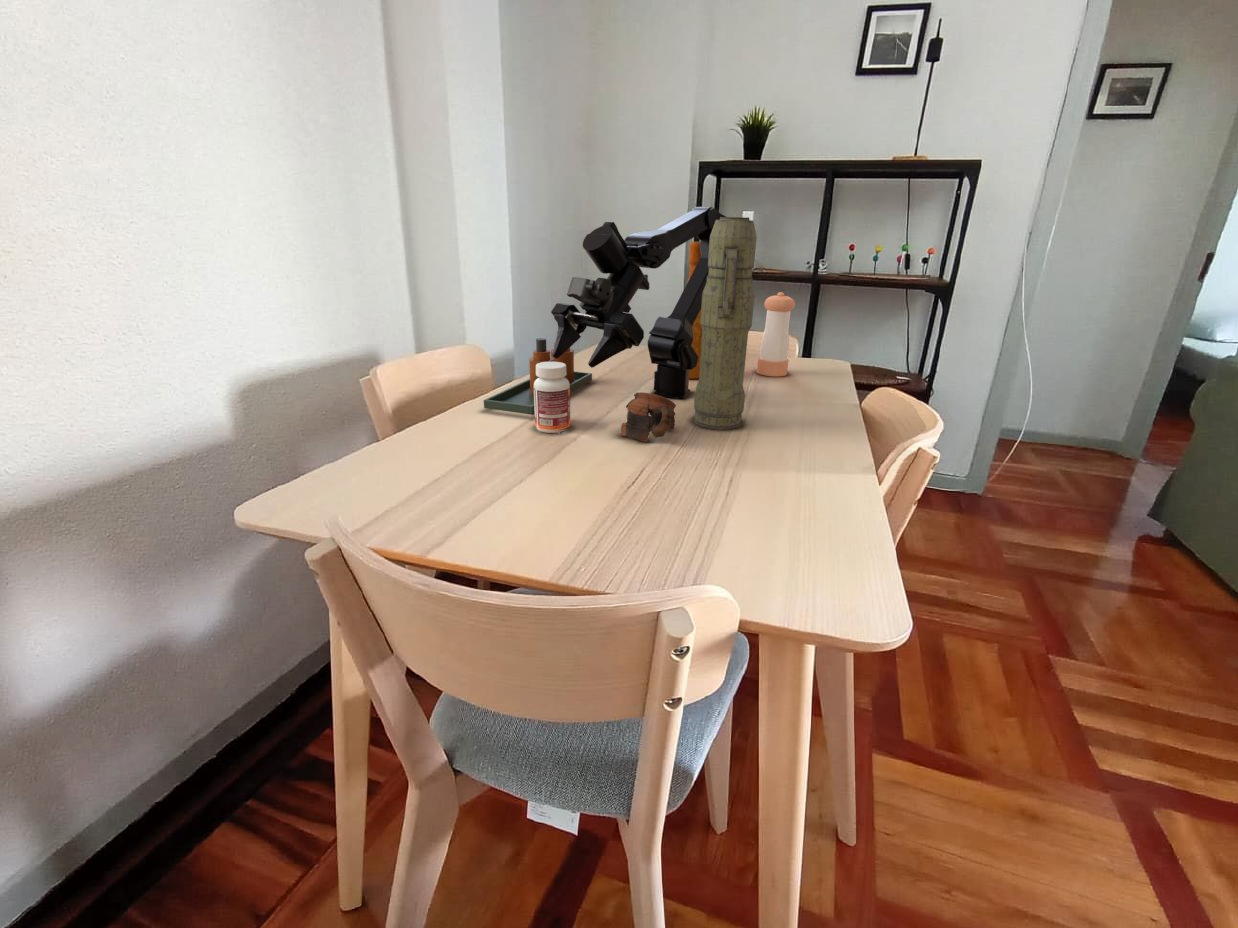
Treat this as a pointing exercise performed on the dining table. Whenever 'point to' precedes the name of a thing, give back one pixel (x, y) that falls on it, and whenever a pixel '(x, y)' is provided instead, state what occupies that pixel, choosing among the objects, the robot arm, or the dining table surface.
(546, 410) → the pill bottle
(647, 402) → the brown rough arched piece
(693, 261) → the wine bottle
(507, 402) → the tray
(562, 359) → the amber bottle end
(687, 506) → the dining table surface
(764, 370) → the pepper shaker
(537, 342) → the amber bottle middle
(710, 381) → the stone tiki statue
